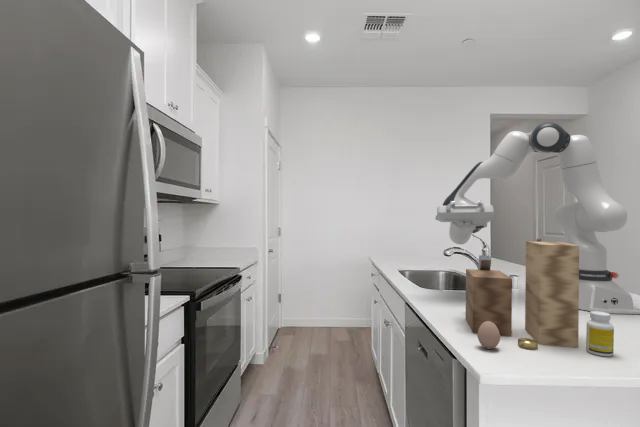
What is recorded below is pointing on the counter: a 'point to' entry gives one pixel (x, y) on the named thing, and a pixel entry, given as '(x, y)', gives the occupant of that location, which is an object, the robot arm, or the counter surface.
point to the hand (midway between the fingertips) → (466, 202)
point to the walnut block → (489, 300)
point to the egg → (488, 335)
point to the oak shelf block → (552, 293)
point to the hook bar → (484, 262)
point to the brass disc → (527, 343)
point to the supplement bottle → (600, 334)
